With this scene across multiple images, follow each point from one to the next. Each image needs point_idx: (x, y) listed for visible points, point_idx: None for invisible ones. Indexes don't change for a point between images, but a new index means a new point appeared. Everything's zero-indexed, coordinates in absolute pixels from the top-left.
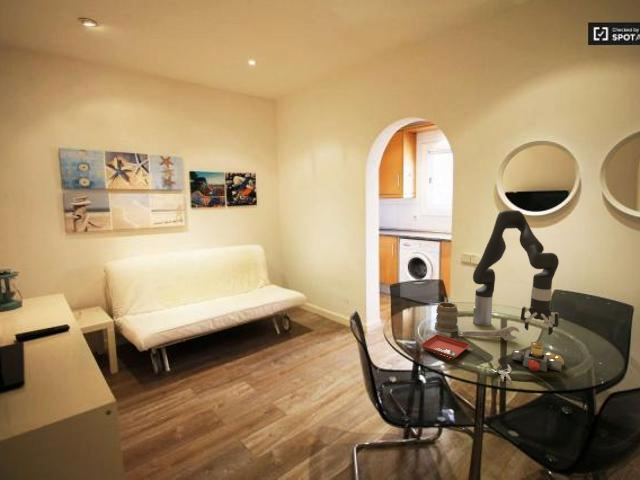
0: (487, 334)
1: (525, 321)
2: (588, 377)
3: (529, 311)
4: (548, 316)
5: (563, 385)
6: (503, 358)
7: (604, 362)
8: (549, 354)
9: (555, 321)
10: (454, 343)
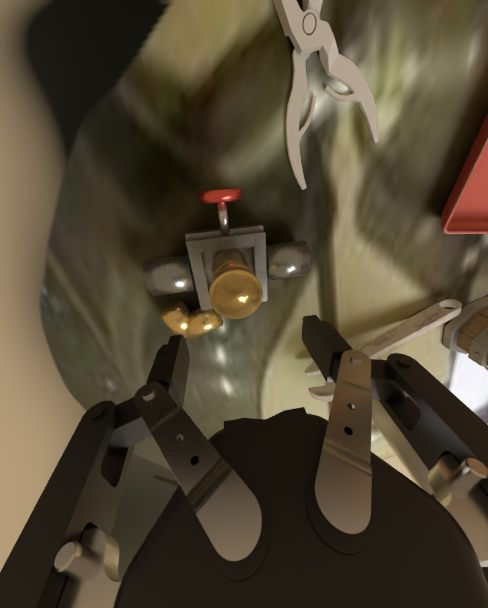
0: (380, 341)
1: (359, 353)
2: (81, 286)
3: (431, 498)
4: (160, 518)
5: (98, 153)
6: (321, 235)
7: (105, 393)
8: (204, 323)
9: (82, 465)
10: (482, 222)
